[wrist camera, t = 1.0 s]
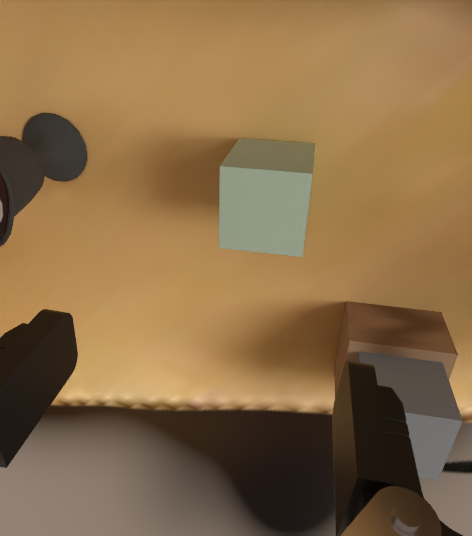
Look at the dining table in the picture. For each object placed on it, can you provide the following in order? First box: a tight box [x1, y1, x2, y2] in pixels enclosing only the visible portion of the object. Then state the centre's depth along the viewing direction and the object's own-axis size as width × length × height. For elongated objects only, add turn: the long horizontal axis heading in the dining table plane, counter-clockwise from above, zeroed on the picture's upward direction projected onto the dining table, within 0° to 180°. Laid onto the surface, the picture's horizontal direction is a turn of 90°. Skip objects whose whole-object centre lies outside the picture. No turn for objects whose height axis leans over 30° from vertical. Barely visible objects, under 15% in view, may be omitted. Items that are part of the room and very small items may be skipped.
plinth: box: [334, 302, 458, 397], centre depth 33 cm, size 7×7×5 cm
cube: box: [357, 351, 462, 480], centre depth 29 cm, size 6×6×5 cm
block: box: [219, 138, 315, 257], centre depth 27 cm, size 5×5×6 cm
